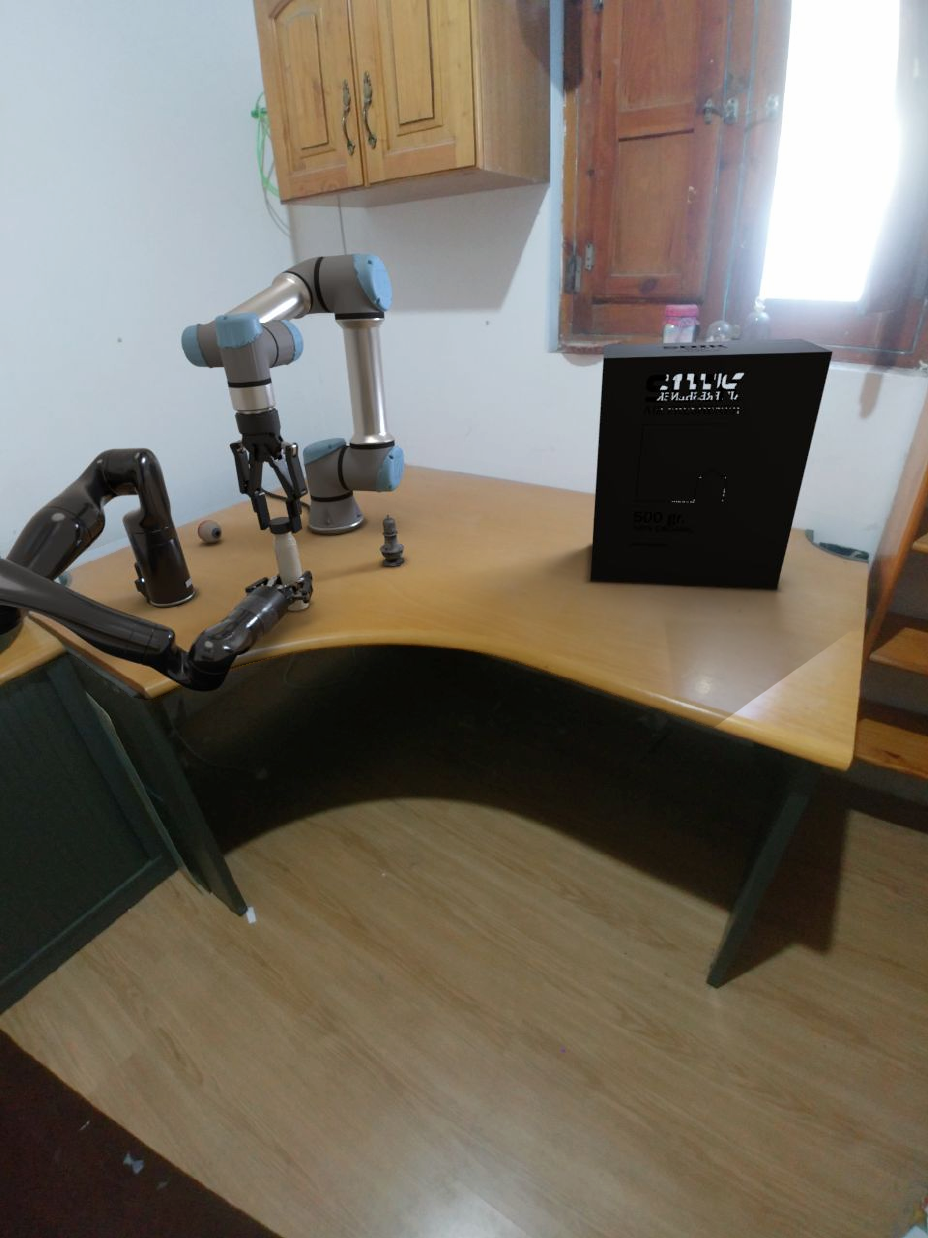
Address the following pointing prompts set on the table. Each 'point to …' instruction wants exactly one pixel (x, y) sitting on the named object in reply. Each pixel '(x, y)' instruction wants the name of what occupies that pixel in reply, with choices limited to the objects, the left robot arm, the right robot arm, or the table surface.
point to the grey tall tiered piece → (391, 544)
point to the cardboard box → (703, 460)
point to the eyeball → (209, 531)
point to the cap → (279, 525)
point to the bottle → (288, 563)
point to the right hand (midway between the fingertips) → (281, 529)
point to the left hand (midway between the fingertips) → (298, 574)
